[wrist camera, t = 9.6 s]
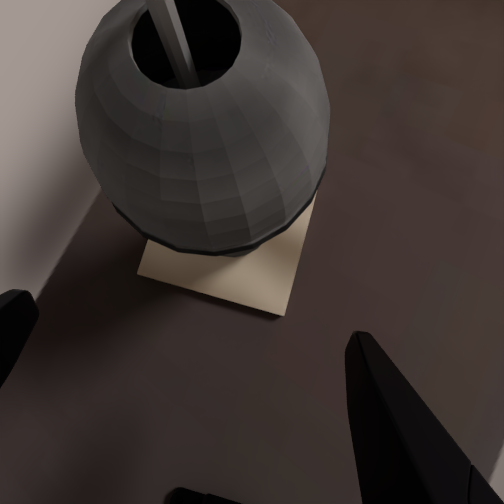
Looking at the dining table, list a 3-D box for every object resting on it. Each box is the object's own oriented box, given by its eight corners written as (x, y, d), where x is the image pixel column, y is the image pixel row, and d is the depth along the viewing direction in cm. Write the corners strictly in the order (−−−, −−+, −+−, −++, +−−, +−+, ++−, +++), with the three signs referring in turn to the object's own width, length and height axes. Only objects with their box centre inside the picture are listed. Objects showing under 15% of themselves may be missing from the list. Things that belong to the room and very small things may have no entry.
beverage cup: (224, 301, 21) (-565, 435, 1) (157, 216, 21) (-1081, -835, 2) (310, 232, 21) (1169, -728, 1) (242, 151, 22) (146, -1190, 2)
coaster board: (282, 315, 21) (284, 316, 20) (140, 274, 22) (136, 274, 21) (319, 177, 22) (321, 173, 22) (185, 141, 23) (182, 136, 22)
